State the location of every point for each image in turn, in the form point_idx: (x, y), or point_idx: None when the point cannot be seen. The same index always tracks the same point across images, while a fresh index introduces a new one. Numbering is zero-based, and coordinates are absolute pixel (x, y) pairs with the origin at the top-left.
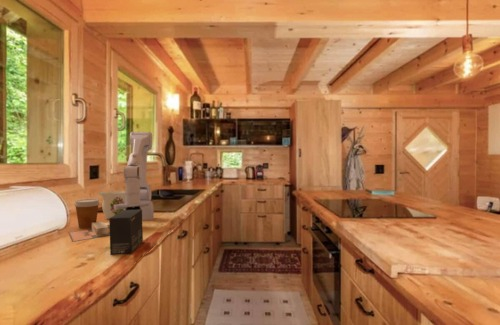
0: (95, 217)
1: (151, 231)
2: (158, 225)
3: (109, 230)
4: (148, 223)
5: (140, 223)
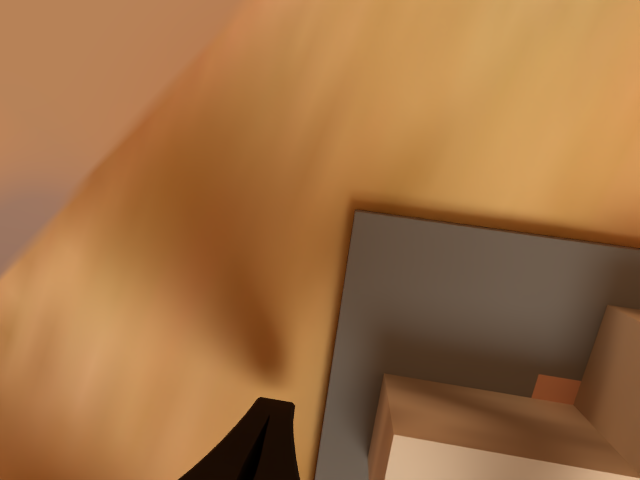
0: None
1: (184, 143)
2: (48, 316)
3: (549, 411)
4: (103, 452)
5: None
